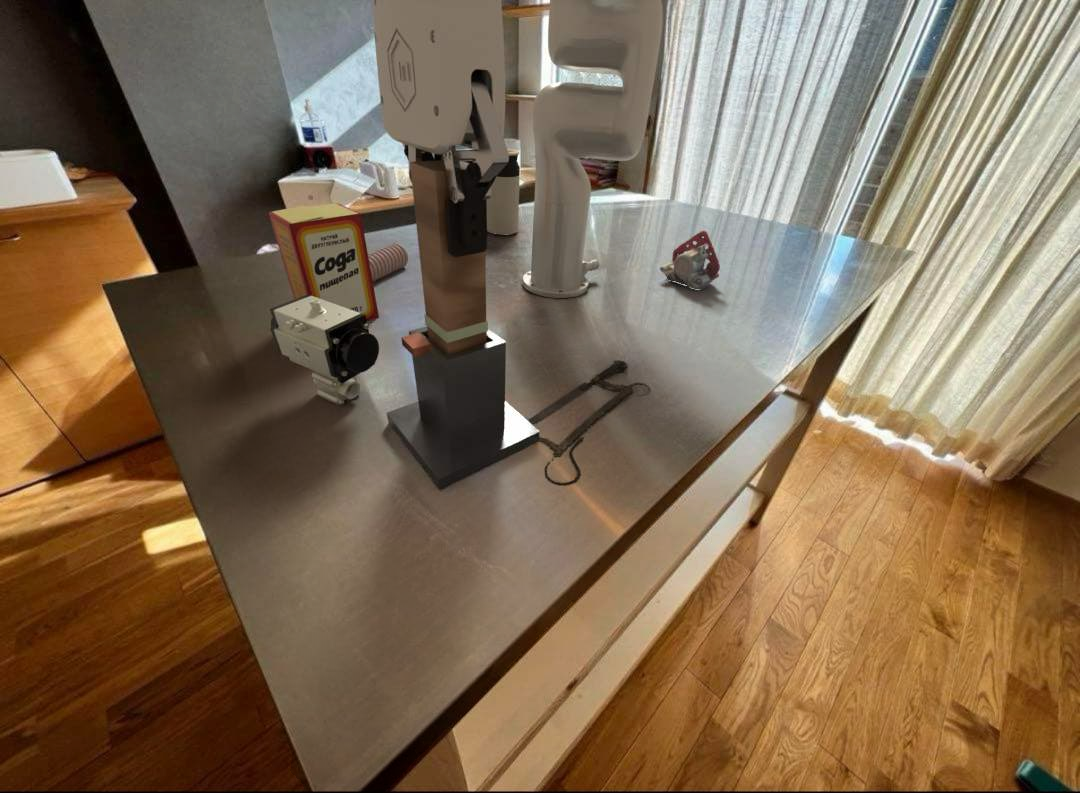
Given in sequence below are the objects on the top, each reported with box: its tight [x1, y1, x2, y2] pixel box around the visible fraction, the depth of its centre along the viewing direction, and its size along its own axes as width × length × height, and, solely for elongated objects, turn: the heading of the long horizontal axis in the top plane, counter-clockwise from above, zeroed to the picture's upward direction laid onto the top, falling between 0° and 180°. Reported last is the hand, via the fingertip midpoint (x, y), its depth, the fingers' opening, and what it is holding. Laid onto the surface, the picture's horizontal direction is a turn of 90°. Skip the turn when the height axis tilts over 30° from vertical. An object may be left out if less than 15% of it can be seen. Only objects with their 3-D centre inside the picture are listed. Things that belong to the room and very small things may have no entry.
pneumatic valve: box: [269, 294, 380, 406], centre depth 48 cm, size 6×12×12 cm, turn 61°
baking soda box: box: [268, 203, 380, 322], centre depth 63 cm, size 10×6×16 cm
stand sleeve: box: [386, 326, 540, 491], centre depth 44 cm, size 12×12×13 cm
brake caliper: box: [659, 230, 721, 290], centre depth 86 cm, size 11×10×11 cm
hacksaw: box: [526, 359, 651, 487], centre depth 52 cm, size 24×10×2 cm, turn 137°
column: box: [410, 160, 489, 356], centre depth 37 cm, size 4×4×18 cm
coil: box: [368, 242, 409, 283], centre depth 80 cm, size 5×5×18 cm
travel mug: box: [487, 148, 521, 234], centre depth 104 cm, size 8×8×18 cm
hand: (451, 241), depth 36 cm, fingers open, 4 cm apart
